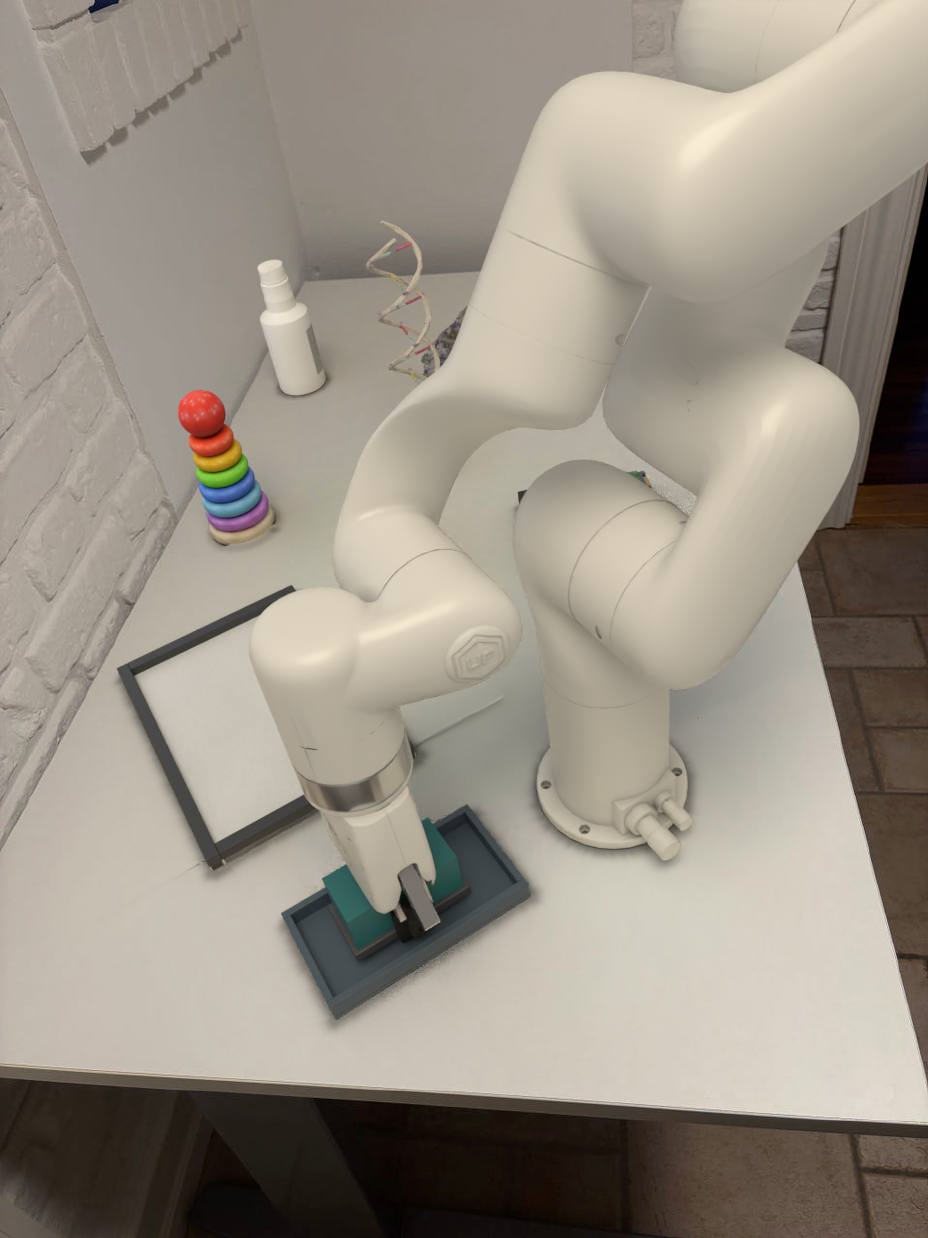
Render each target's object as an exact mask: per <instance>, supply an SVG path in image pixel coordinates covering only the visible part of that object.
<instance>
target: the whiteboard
mask: <svg viewBox="0 0 928 1238" xmlns="http://www.w3.org/2000/svg"><path fill="white" fill-rule="evenodd" d="M295 591H297V590H296V589H295V587H294V586H293V585H292V584H290V585H287V586H285V587H284V588H282V589H279V590H277V591H275V592H273V593H271V594H269V595H267V596H264V597H263V598H261V599H258V600H255V601H254V602H252V603H250V604H247V605H246V606H243V607H242V608H239V609H237V610H235V611H233V612H231V613H229V614H227V615H225V616H223V617H220V618H218V619H216V620H214V621H212V622H210V623H208V624H206V625H204V626H202V627H200V628H198V629H195V630H193V631H191V632H190V633H187V634H185V635H183V636H181V637H178V638H177V639H174V640H172V641H171V642H168V643H166V644H163V645H161V646H160V647H158V648H156V649H154V650H151V651H150V652H147V653H145V654H142V655H141V656H139V657H137V658H135V659H132V660H130V661H128V662H126V663H124V664H123V665H120V666H118V667H116V671H117V673H118V675H119V677H120V679H121V682H122V683H123V685H124V688H125V691H126V692H127V694H128V697H129V699H130V701H131V703H132V705H133V708H134V710H135V711H136V714H137V716H138V718H139V720H140V722H141V724H142V727H143V729H144V732H145V733H146V735H147V738H148V740H149V742H150V744H151V746H152V748H153V751H154V752H155V755H156V757H157V759H158V761H159V763H160V766H161V768H162V770H163V772H164V774H165V777H166V778H167V780H168V783H169V785H170V787H171V789H172V792H173V794H174V796H175V798H176V800H177V802H178V805H179V806H180V809H181V811H182V812H183V815H184V817H185V819H186V821H187V823H188V826H189V828H190V830H191V833H192V834H193V837H194V839H195V841H196V843H197V846H198V847H199V849H200V852H201V854H202V856H203V857H204V861H205V862H206V864H207V866H208V868H209V869H210V870H211V872H212V873H213V872H215V871H217V870H219V869H221V868H222V867H224V866H226V865H227V864H230V863H231V862H233V861H236V860H237V859H238V858H240V857H242V856H243V855H246V854H248V853H249V852H252V851H253V850H254V849H256V848H258V847H260V846H262V845H263V844H265V843H267V842H269V841H271V840H272V839H274V838H276V837H278V836H280V835H281V834H283V833H285V832H287V831H289V830H291V829H292V828H295V827H296V826H297V825H299V824H301V823H303V822H304V821H306V820H308V819H310V818H312V817H314V816H315V815H317V814H320V810H318V809H316V808H315V807H314V806H312V805H311V804H310V802H309V801H308V800H307V799H306V797H305V795H304V793H303V791H302V788H301V786H300V783H299V781H298V778H297V776H296V773H295V771H294V768H293V766H292V763H291V761H290V759H289V756H288V754H287V751H286V749H285V746H284V744H283V741H282V739H281V737H280V734H279V732H278V729H277V727H276V724H275V722H274V719H273V717H272V714H271V712H270V709H269V707H268V705H267V702H266V700H265V697H264V695H263V692H262V690H261V687H260V685H259V682H258V680H257V677H256V675H255V672H254V670H253V667H252V664H251V661H250V657H249V638H250V634H251V631H252V628H253V626H254V624H255V622H256V620H257V619H258V617H259V616H260V615H261V614H262V613H263V611H264V610H265V609H266V608H267V607H269V606H270V605H271V604H272V603H274V602H275V601H277V600H278V599H280V598H282V597H284V596H286V595H288V594H290V593H293V592H295ZM408 741H409V745H410V749H411V753H412V756H413V761H414V760H416V759H417V754H416V750H415V747H414V744H413V742H411V740H410V739H409V738H408Z"/></svg>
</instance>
